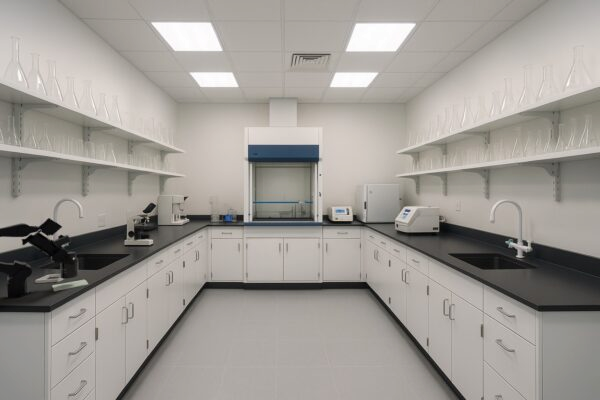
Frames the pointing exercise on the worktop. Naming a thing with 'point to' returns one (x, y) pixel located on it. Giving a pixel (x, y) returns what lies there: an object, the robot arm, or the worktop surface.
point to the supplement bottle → (70, 267)
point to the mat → (69, 285)
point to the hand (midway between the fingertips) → (72, 263)
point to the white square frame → (44, 279)
